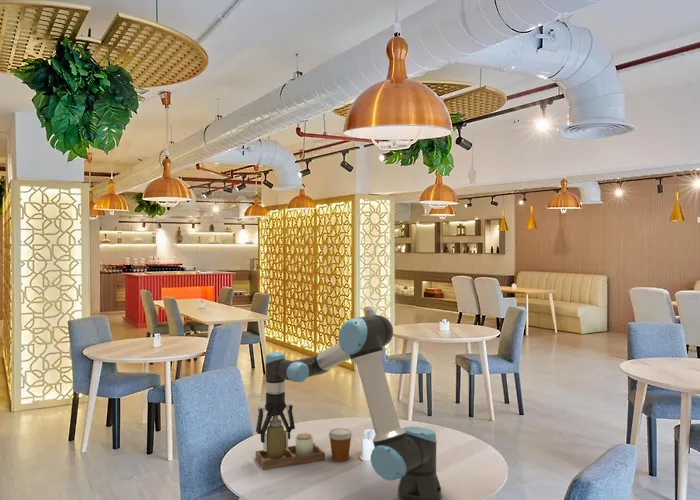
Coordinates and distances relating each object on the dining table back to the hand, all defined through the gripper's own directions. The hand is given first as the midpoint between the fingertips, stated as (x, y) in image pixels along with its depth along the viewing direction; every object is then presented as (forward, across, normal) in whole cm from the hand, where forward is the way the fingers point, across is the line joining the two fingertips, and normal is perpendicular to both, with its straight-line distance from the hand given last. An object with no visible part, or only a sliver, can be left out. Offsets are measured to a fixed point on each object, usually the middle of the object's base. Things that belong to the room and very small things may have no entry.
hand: (275, 448), depth 236 cm
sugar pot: (+5, -12, 0) cm, 13 cm away
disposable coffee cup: (+6, -25, +7) cm, 27 cm away
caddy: (+6, -6, 0) cm, 9 cm away
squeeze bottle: (+3, 0, 0) cm, 3 cm away
